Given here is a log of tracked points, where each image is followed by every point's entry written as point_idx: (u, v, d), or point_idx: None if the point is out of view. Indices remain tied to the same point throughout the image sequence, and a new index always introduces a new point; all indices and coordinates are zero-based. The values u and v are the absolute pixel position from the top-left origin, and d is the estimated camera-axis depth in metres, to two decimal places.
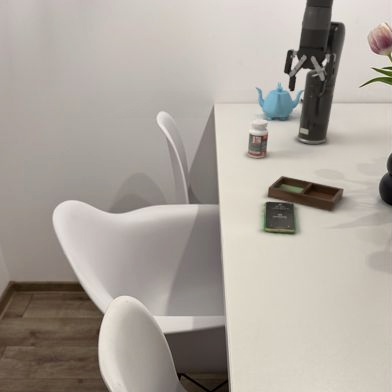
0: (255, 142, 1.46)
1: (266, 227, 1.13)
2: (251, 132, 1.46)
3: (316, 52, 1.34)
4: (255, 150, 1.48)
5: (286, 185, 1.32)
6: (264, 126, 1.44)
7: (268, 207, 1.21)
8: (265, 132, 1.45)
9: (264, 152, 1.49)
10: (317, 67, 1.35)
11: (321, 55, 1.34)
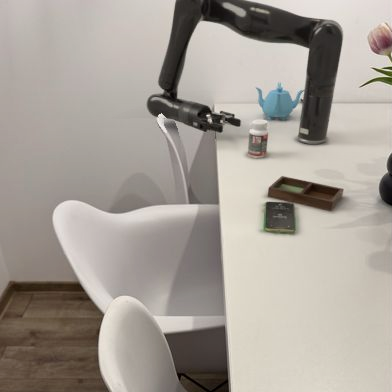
0: (255, 142, 1.46)
1: (266, 227, 1.13)
2: (251, 132, 1.46)
3: None
4: (255, 150, 1.48)
5: (286, 185, 1.32)
6: (264, 126, 1.44)
7: (268, 207, 1.21)
8: (265, 132, 1.45)
9: (264, 152, 1.49)
10: None
11: None
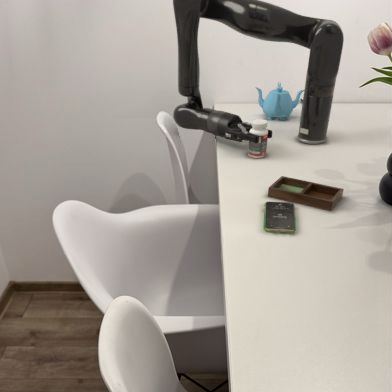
0: None
1: (266, 227, 1.13)
2: (251, 132, 1.46)
3: None
4: (255, 150, 1.48)
5: (286, 185, 1.32)
6: (264, 126, 1.44)
7: (268, 207, 1.21)
8: (265, 132, 1.45)
9: (264, 152, 1.49)
10: None
11: None
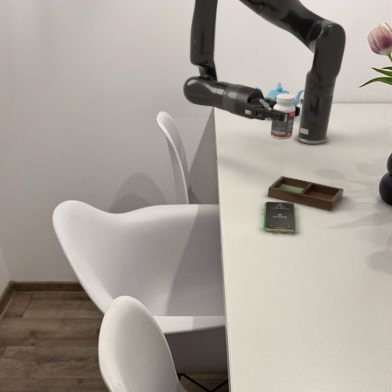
0: None
1: (266, 227, 1.13)
2: (275, 108, 1.24)
3: None
4: (280, 130, 1.26)
5: (286, 185, 1.32)
6: (291, 101, 1.22)
7: (268, 207, 1.21)
8: (292, 108, 1.23)
9: (290, 133, 1.27)
10: None
11: None
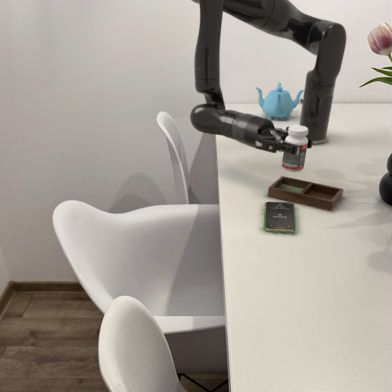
0: None
1: (266, 227, 1.13)
2: (287, 141, 1.19)
3: None
4: (292, 163, 1.21)
5: (286, 185, 1.32)
6: (304, 134, 1.18)
7: (268, 207, 1.21)
8: (305, 141, 1.19)
9: (302, 165, 1.23)
10: None
11: None
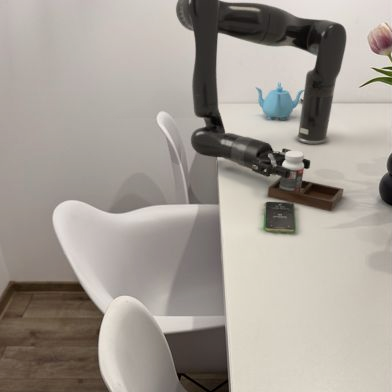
0: None
1: (266, 227, 1.13)
2: (284, 166, 1.23)
3: None
4: (289, 187, 1.26)
5: None
6: (300, 159, 1.22)
7: (268, 207, 1.21)
8: (301, 166, 1.23)
9: (299, 188, 1.27)
10: None
11: None
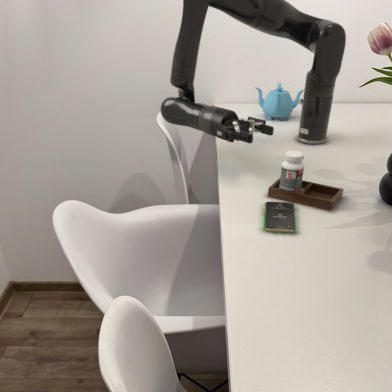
0: (288, 177, 1.24)
1: (266, 227, 1.13)
2: (284, 166, 1.23)
3: None
4: (289, 187, 1.26)
5: None
6: (300, 159, 1.22)
7: (268, 207, 1.21)
8: (301, 166, 1.23)
9: (299, 188, 1.27)
10: None
11: None
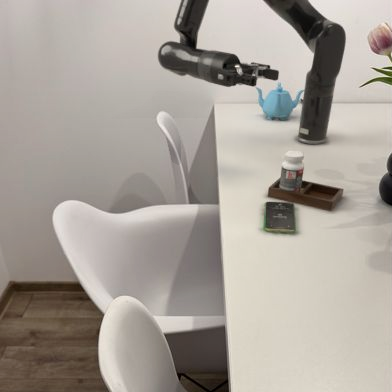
0: (288, 177, 1.24)
1: (266, 227, 1.13)
2: (284, 166, 1.23)
3: None
4: (289, 187, 1.26)
5: None
6: (300, 159, 1.22)
7: (268, 207, 1.21)
8: (301, 166, 1.23)
9: (299, 188, 1.27)
10: None
11: None
